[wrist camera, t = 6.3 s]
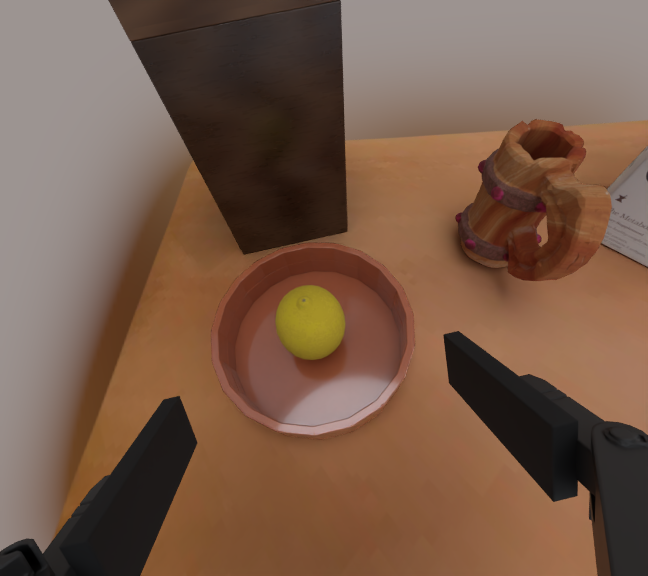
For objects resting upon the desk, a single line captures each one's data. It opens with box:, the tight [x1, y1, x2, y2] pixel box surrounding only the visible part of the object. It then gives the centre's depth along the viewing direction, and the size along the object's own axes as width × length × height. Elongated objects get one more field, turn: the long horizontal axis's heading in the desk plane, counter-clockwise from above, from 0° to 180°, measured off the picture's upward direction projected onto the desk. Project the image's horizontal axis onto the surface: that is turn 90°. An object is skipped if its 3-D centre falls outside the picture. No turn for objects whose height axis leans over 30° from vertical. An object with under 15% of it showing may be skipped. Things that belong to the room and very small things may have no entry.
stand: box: [131, 0, 347, 254], centre depth 29 cm, size 12×12×20 cm
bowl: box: [211, 243, 415, 440], centre depth 26 cm, size 16×16×4 cm
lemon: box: [275, 285, 345, 360], centre depth 25 cm, size 6×6×8 cm
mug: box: [455, 119, 612, 281], centre depth 25 cm, size 12×7×13 cm, turn 2°
